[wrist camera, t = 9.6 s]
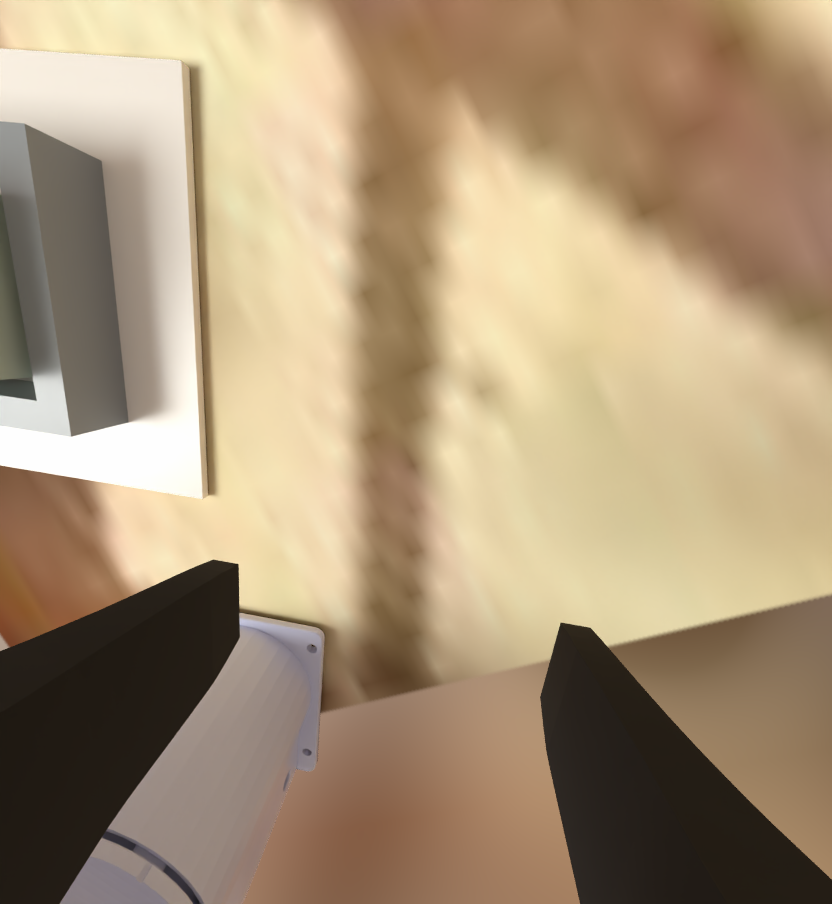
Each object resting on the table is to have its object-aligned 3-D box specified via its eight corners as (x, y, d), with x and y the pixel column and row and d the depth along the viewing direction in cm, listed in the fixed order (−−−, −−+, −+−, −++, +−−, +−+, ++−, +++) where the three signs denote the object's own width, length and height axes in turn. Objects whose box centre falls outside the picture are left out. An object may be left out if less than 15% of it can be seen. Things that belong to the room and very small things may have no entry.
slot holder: (208, 495, 18) (159, 525, 15) (-59, 451, 19) (-151, 471, 16) (189, 68, 13) (113, -6, 10) (-162, 44, 15) (-315, -27, 12)
